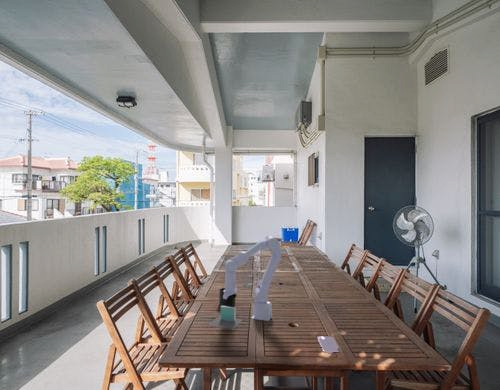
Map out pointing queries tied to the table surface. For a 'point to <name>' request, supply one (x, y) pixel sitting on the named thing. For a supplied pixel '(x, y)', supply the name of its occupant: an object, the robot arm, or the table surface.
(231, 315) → the tile
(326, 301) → the table surface
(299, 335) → the table surface
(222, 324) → the mat
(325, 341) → the mobile phone
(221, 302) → the mug
